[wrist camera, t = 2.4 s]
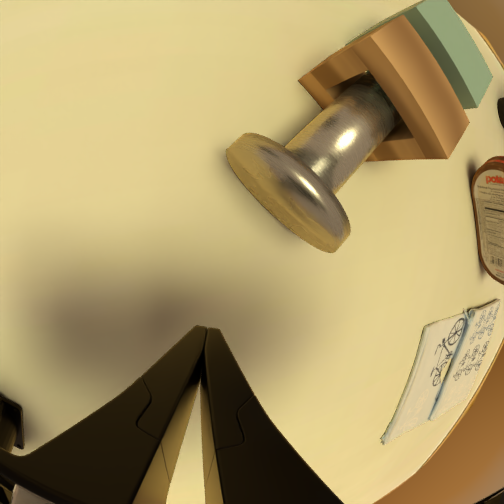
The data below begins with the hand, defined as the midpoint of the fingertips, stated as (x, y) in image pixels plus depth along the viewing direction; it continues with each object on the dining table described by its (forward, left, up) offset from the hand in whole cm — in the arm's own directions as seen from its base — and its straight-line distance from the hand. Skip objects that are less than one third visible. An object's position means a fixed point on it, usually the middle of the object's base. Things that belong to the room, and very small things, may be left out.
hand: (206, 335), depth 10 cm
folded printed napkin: (-2, -36, -10) cm, 38 cm away
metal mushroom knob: (+11, -4, -9) cm, 15 cm away
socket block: (+21, -8, -9) cm, 25 cm away
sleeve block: (+15, -6, -9) cm, 18 cm away
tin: (+16, -27, -9) cm, 33 cm away
